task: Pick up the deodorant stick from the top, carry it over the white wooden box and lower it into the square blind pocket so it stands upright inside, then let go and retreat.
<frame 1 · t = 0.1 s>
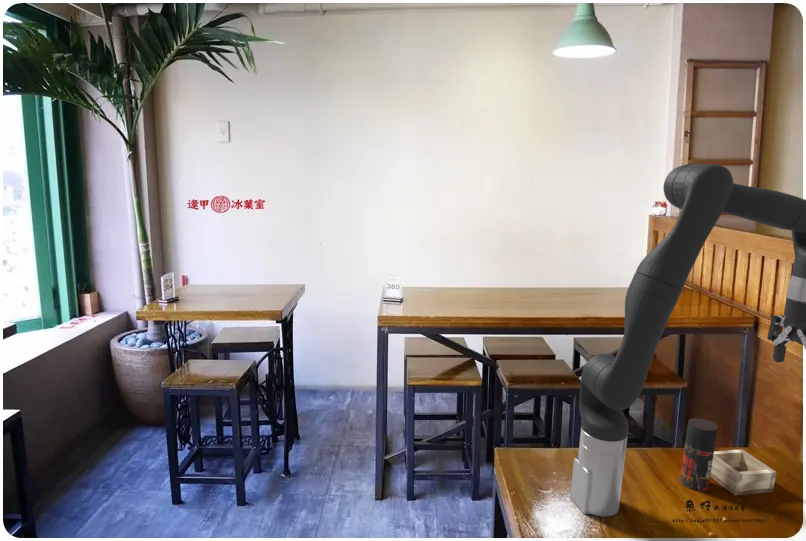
hand: (794, 368, 122), 29 cm above the table, tool pointing down, fingers open, 8 cm apart
deodorant: (693, 484, 128), on the table
white wooden box: (737, 481, 130), on the table
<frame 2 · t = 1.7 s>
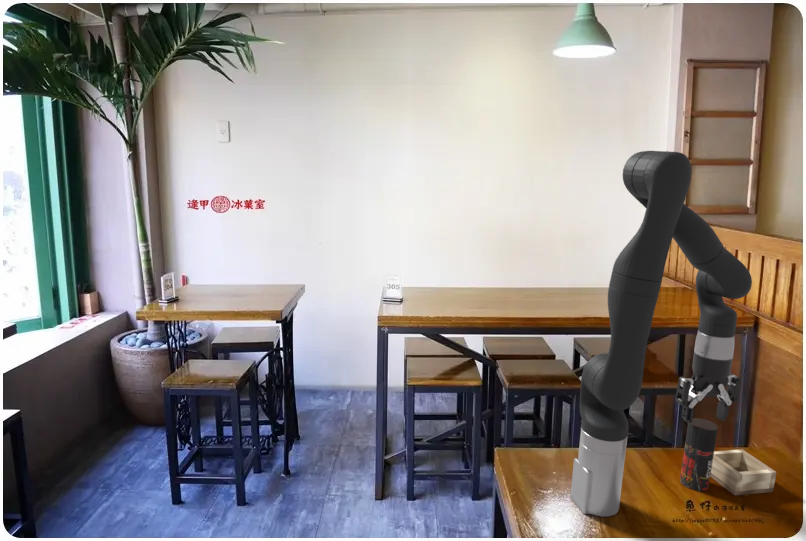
hand: (704, 420, 125), 16 cm above the table, tool pointing down, fingers open, 8 cm apart
nothing on the table moved.
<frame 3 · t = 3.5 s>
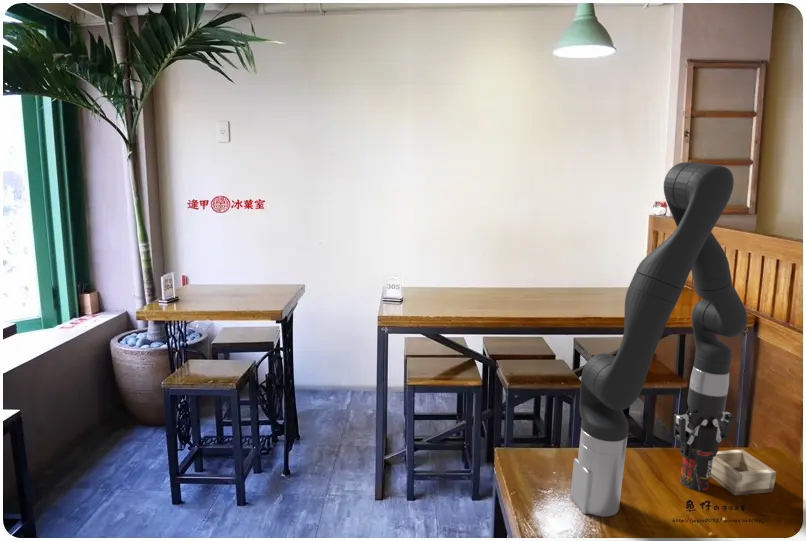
hand: (698, 455, 127), 7 cm above the table, tool pointing down, fingers closed on deodorant, 6 cm apart
deodorant: (694, 484, 128), on the table, touching gripper
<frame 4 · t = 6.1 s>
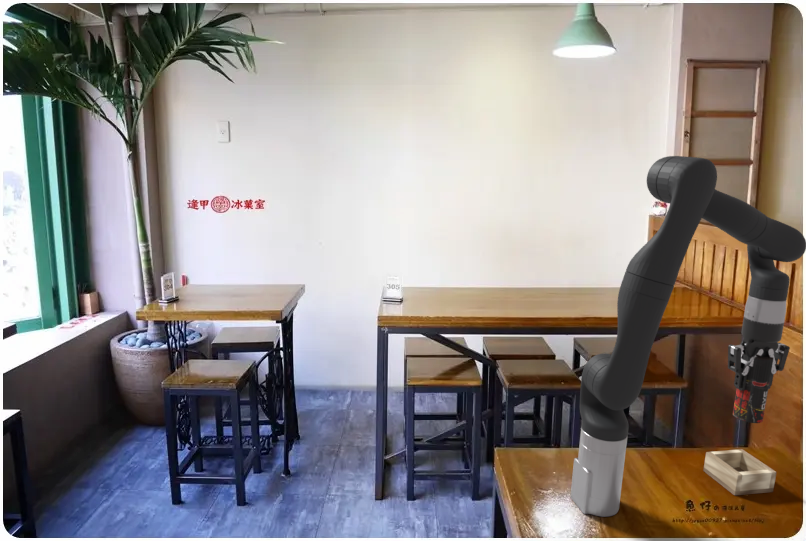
hand: (752, 388, 125), 23 cm above the table, tool pointing down, fingers closed on deodorant, 6 cm apart
deodorant: (747, 417, 126), point 16 cm above the table, touching gripper
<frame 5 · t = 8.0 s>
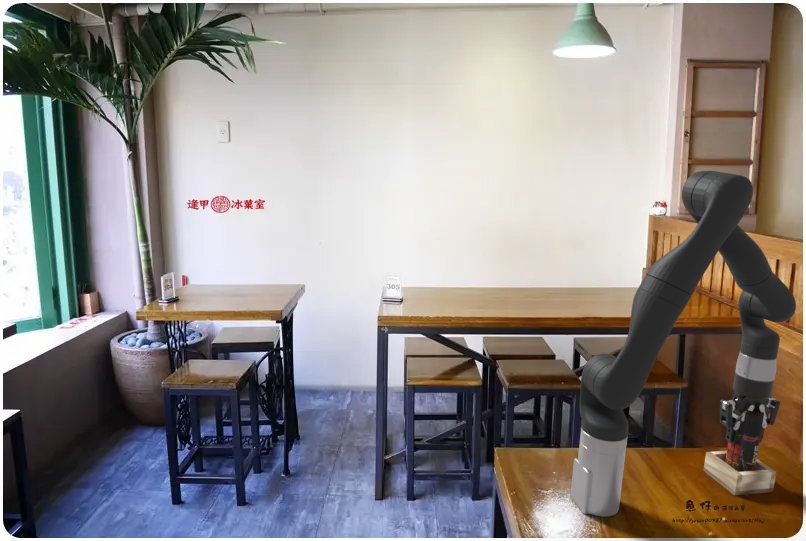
hand: (743, 441, 127), 10 cm above the table, tool pointing down, fingers closed on deodorant, 6 cm apart
deodorant: (739, 470, 129), point 3 cm above the table, touching gripper
when the fingers open (9 cm above the table, at t = 9.1 s): deodorant drops 1 cm, resting on white wooden box.
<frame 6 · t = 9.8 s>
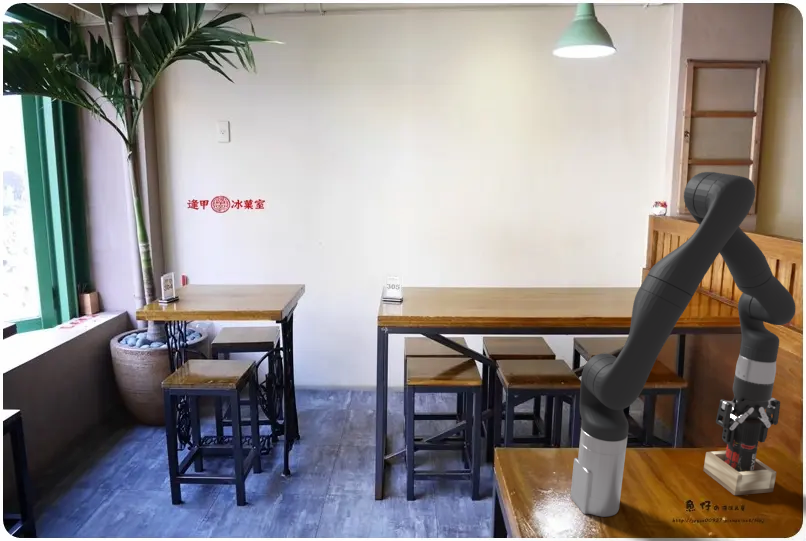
hand: (743, 441, 128), 10 cm above the table, tool pointing down, fingers open, 8 cm apart
deodorant: (737, 477, 129), point 1 cm above the table, touching white wooden box
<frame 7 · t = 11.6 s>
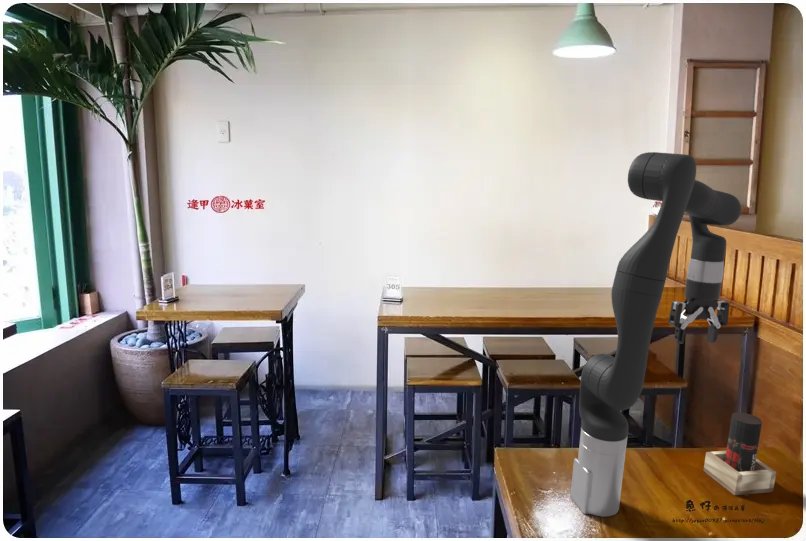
hand: (695, 342, 135), 30 cm above the table, tool pointing down, fingers open, 8 cm apart
nothing on the table moved.
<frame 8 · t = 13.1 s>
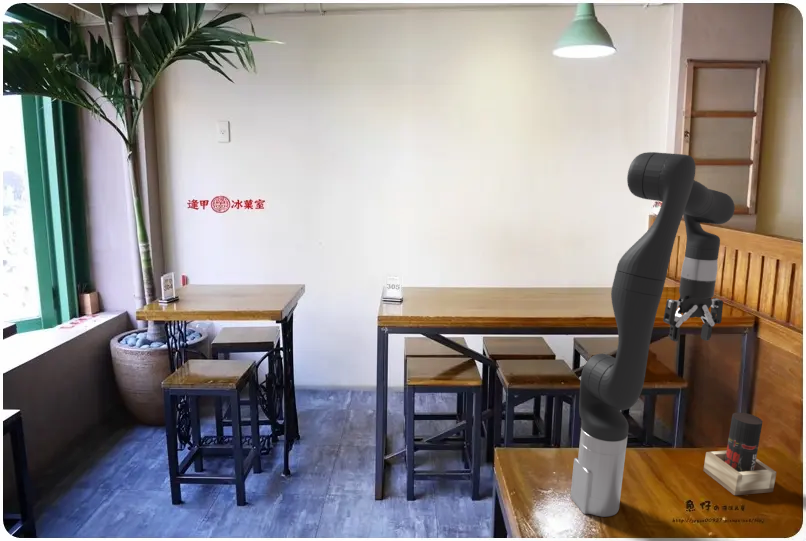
hand: (689, 340, 136), 30 cm above the table, tool pointing down, fingers open, 8 cm apart
nothing on the table moved.
at the end: deodorant 0.1 cm from the white wooden box (horizontally); deodorant point 0.8 cm above the table; deodorant tilted 0° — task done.
